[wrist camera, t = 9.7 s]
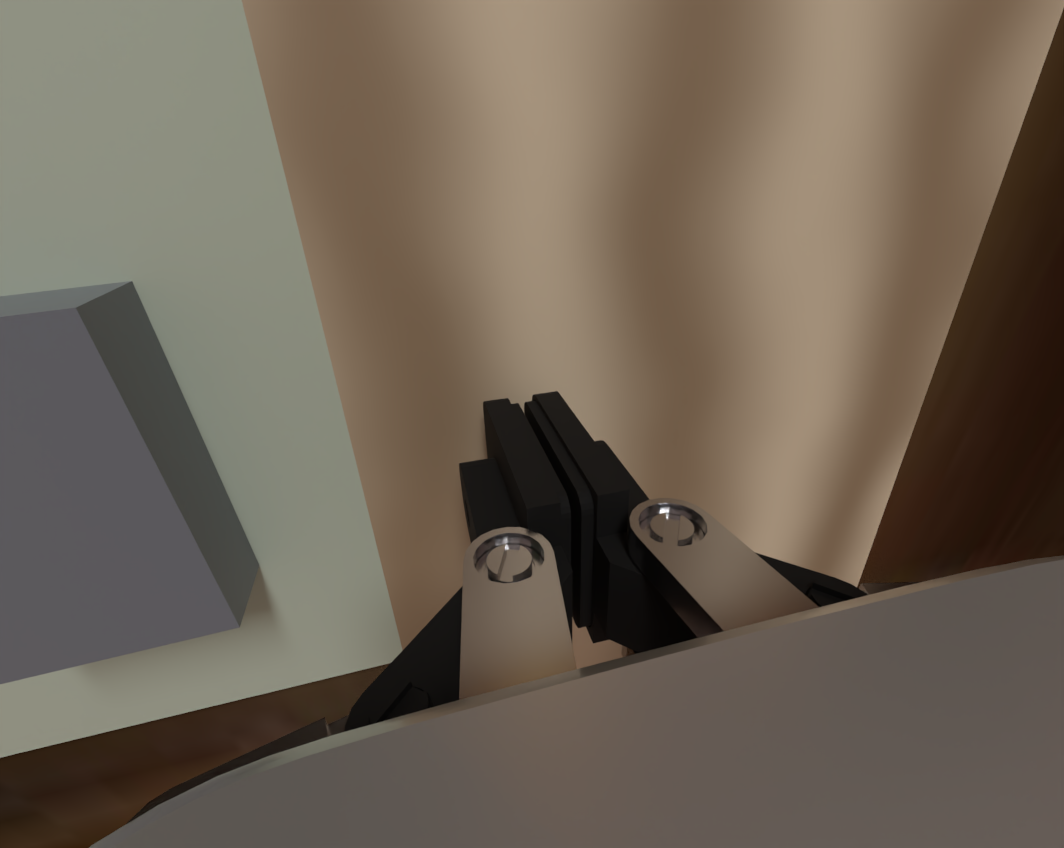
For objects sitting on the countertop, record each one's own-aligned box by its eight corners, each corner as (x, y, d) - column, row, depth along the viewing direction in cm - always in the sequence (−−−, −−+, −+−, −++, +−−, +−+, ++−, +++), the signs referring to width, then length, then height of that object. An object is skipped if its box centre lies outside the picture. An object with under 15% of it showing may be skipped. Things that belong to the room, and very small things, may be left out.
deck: (929, -85, 13) (1128, -175, 9) (772, 564, 23) (839, 635, 20) (248, -122, 10) (173, -277, 6) (420, 649, 20) (427, 750, 17)
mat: (220, -123, 10) (215, -132, 9) (407, 652, 20) (407, 658, 20) (-1155, -198, 6) (-1221, -213, 6) (-82, 769, 17) (-90, 779, 17)
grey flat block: (-324, 357, 9) (-182, 317, 11) (-13, 687, 13) (45, 612, 15) (75, 308, 10) (132, 280, 12) (240, 627, 14) (259, 565, 16)
